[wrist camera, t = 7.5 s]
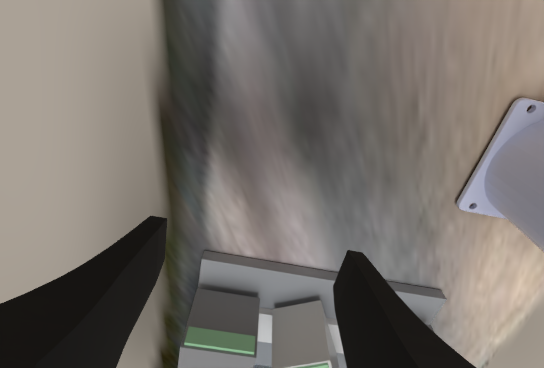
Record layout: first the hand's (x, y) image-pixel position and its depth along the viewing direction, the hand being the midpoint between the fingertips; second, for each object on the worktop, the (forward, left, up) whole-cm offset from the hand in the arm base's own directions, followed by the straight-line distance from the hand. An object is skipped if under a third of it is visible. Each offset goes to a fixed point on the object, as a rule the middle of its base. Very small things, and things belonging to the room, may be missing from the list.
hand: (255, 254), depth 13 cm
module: (-7, +15, -8) cm, 18 cm away
